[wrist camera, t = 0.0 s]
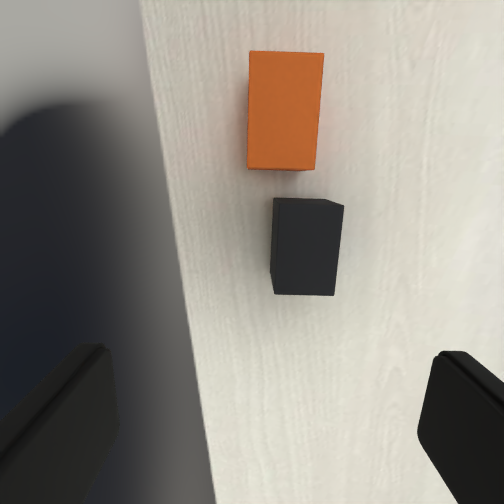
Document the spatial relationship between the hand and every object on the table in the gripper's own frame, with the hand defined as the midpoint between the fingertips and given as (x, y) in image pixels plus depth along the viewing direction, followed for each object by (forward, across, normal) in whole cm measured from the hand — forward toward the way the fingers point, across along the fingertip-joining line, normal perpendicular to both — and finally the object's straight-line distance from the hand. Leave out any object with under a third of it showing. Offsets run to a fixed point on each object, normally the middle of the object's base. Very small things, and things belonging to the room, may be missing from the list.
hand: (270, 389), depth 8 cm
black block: (+15, -3, -1) cm, 15 cm away
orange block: (+15, -1, -9) cm, 18 cm away
